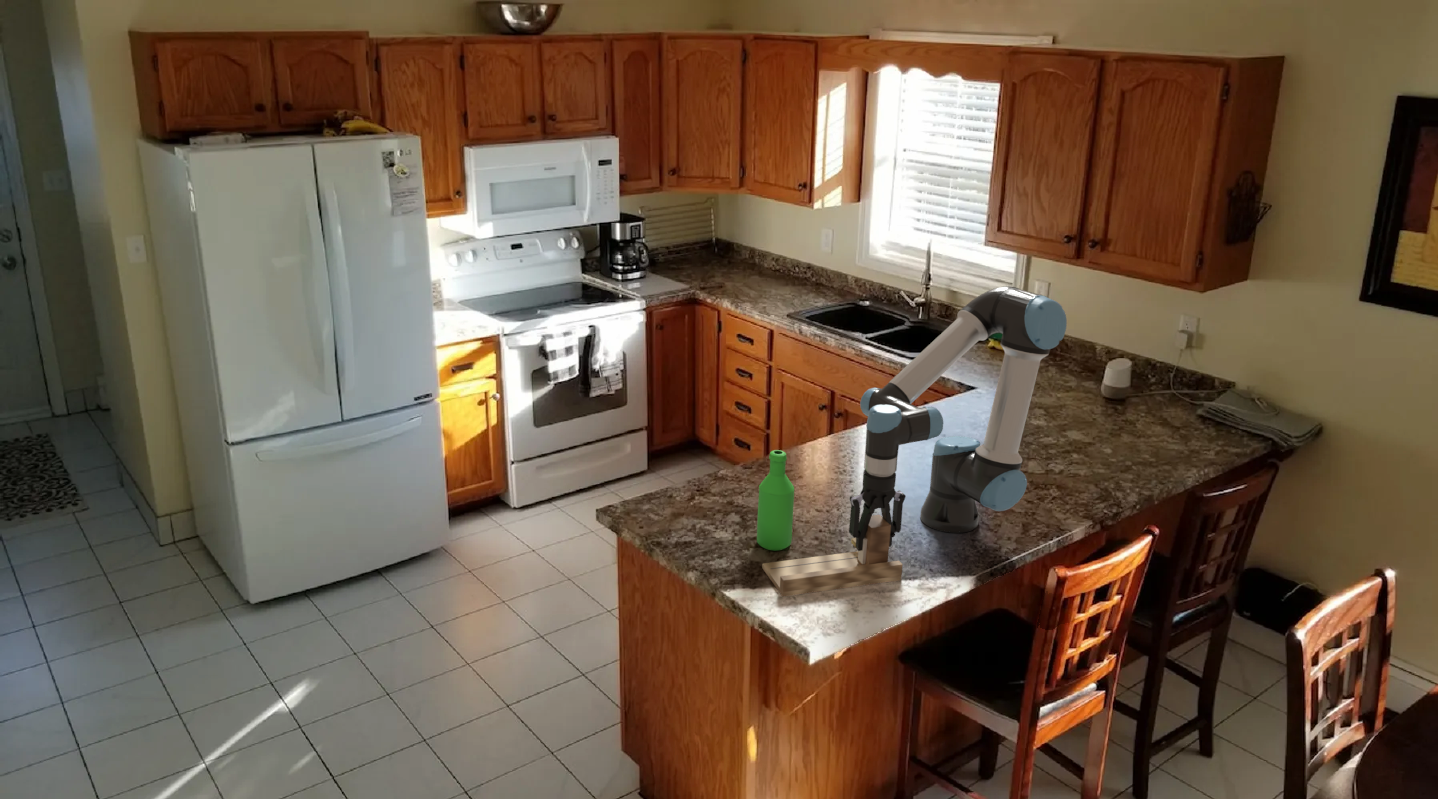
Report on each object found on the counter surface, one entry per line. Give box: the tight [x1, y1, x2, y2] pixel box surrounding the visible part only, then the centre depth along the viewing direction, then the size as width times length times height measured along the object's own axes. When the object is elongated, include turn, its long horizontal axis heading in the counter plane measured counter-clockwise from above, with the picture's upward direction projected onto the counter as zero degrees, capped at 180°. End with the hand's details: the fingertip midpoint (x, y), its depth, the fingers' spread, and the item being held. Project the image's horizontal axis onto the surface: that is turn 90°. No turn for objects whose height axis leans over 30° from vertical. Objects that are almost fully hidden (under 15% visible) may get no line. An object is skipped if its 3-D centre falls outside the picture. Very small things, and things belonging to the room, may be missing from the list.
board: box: [761, 550, 903, 597], centre depth 256 cm, size 30×14×4 cm, turn 107°
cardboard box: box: [850, 514, 891, 565], centre depth 260 cm, size 5×14×12 cm, turn 17°
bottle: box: [756, 449, 795, 552], centre depth 267 cm, size 9×9×25 cm
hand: (872, 559), depth 257 cm, fingers closed on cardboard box, 5 cm apart
